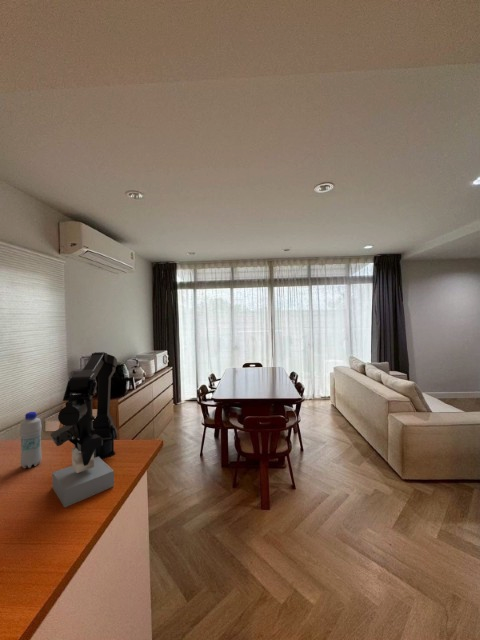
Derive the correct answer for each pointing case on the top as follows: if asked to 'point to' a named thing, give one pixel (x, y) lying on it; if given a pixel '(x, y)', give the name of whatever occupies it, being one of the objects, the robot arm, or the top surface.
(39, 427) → the bottle
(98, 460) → the plinth
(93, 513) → the top surface
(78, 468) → the cream block
